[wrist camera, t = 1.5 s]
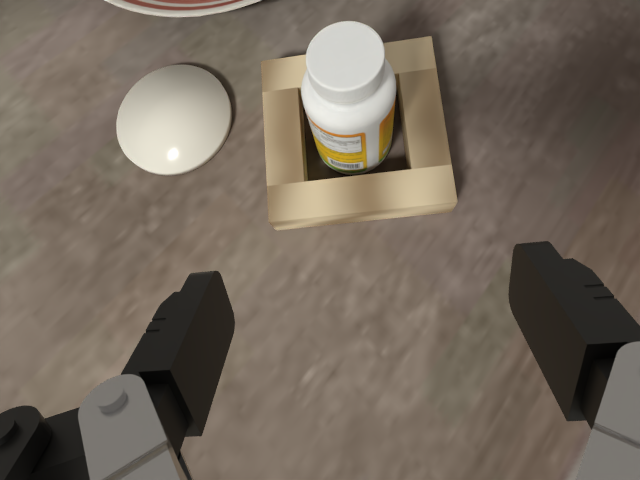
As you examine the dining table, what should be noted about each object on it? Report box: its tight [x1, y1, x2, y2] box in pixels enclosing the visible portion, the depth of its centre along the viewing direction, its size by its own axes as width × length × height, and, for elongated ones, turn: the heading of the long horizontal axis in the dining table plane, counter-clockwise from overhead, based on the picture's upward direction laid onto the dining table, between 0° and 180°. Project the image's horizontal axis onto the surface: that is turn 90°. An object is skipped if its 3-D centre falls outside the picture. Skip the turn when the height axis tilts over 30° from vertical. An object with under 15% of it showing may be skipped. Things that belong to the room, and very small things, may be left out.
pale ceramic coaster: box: [116, 65, 232, 176], centre depth 32 cm, size 9×9×1 cm
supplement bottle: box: [301, 21, 396, 175], centre depth 25 cm, size 5×5×10 cm
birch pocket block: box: [261, 36, 457, 230], centre depth 29 cm, size 12×12×2 cm
